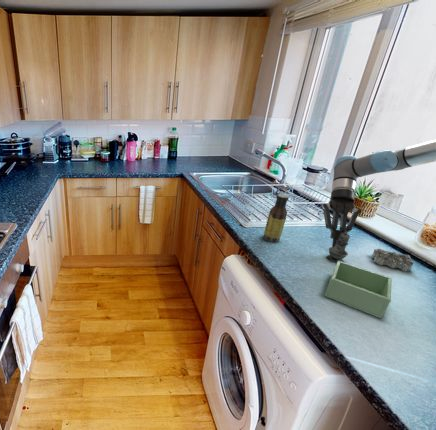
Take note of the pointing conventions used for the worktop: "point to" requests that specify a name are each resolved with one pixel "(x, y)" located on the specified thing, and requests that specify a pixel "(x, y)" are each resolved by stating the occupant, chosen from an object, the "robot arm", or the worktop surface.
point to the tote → (360, 288)
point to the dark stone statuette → (339, 248)
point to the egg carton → (392, 259)
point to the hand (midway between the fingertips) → (336, 246)
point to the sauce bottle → (276, 219)
